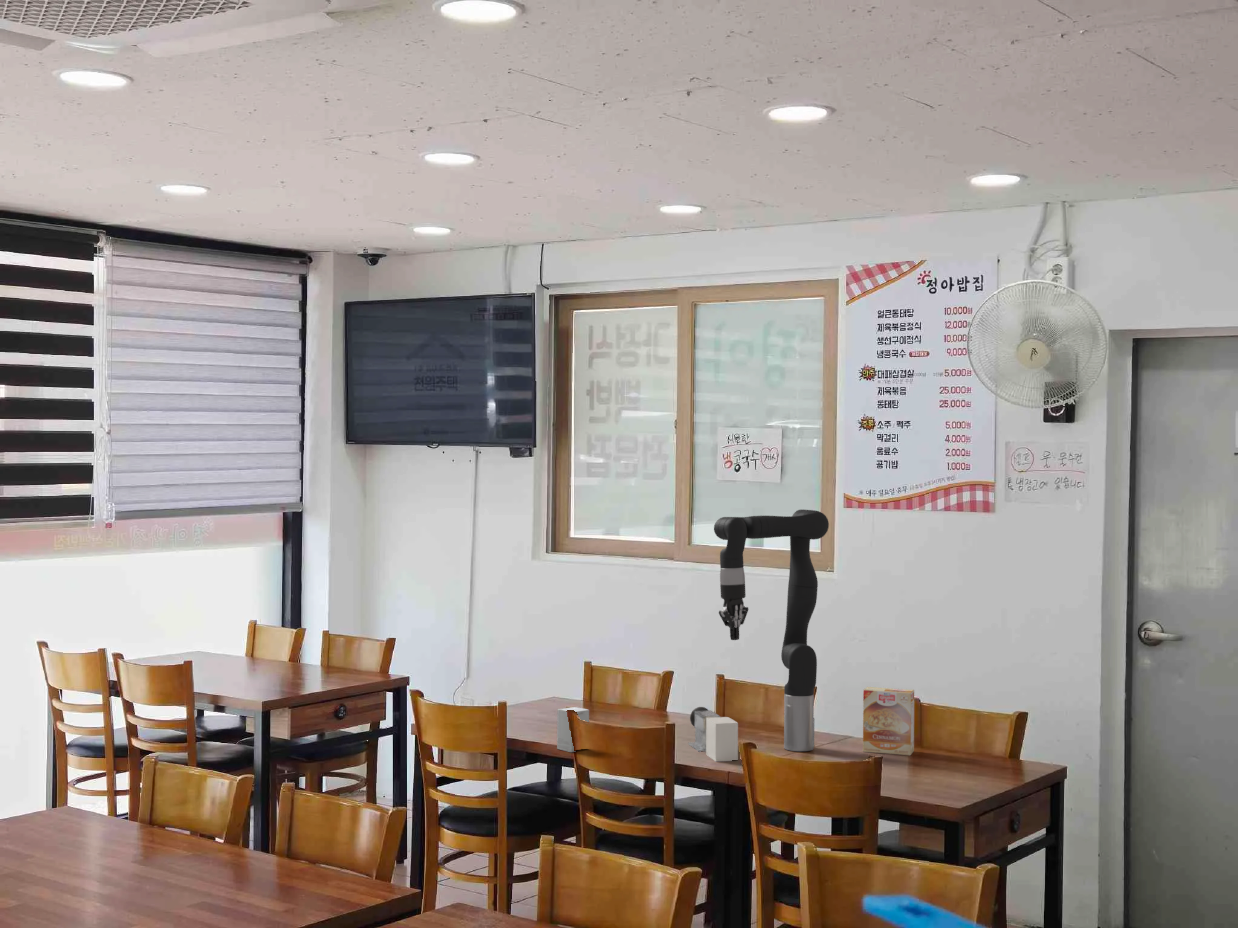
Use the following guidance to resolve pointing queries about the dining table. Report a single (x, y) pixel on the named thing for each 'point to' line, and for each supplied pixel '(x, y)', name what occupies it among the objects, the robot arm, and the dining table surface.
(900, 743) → the coffeecake box
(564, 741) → the supplement box
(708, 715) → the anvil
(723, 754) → the white rectangular block
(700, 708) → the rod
